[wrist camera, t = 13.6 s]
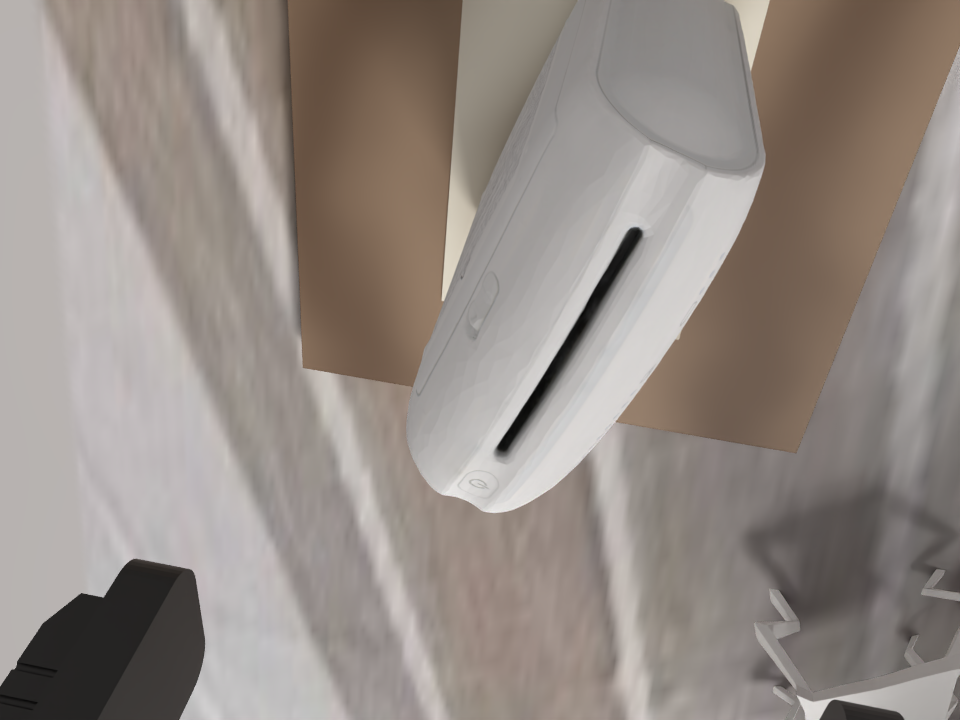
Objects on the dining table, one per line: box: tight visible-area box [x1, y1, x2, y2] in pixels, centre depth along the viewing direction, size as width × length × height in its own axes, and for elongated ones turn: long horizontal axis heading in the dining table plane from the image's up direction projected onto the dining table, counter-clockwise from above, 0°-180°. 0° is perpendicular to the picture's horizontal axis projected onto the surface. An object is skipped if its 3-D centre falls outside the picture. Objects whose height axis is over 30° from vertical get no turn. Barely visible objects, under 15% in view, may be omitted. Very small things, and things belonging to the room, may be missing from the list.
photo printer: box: [406, 0, 766, 513], centre depth 21 cm, size 10×4×12 cm, turn 157°
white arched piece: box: [754, 569, 960, 720], centre depth 37 cm, size 12×8×5 cm
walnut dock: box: [288, 0, 960, 453], centre depth 26 cm, size 18×22×4 cm
